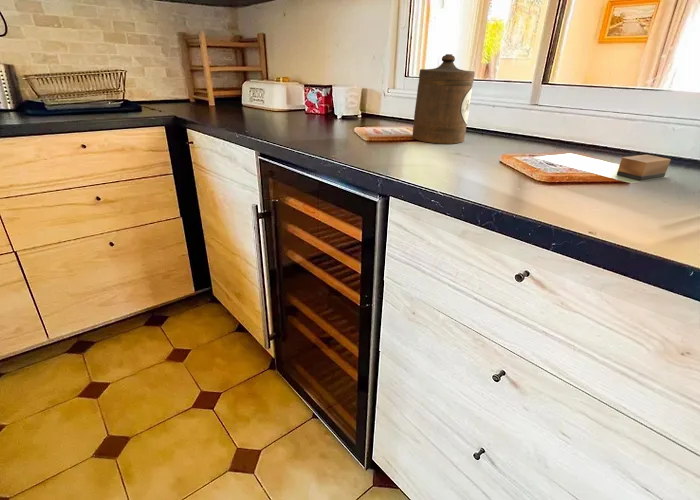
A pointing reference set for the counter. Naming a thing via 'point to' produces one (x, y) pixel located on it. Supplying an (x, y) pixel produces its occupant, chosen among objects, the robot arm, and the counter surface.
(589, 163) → the board
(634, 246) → the counter surface
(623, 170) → the eraser
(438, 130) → the wooden container
